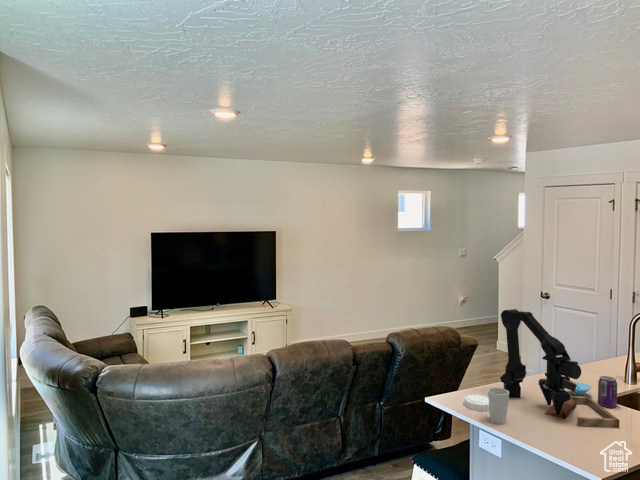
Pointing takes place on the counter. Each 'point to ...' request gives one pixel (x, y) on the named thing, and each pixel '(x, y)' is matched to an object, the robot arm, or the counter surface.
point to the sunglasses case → (562, 409)
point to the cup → (498, 404)
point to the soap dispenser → (581, 388)
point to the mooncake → (477, 402)
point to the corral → (607, 418)
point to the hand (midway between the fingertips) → (553, 409)
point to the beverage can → (607, 391)
